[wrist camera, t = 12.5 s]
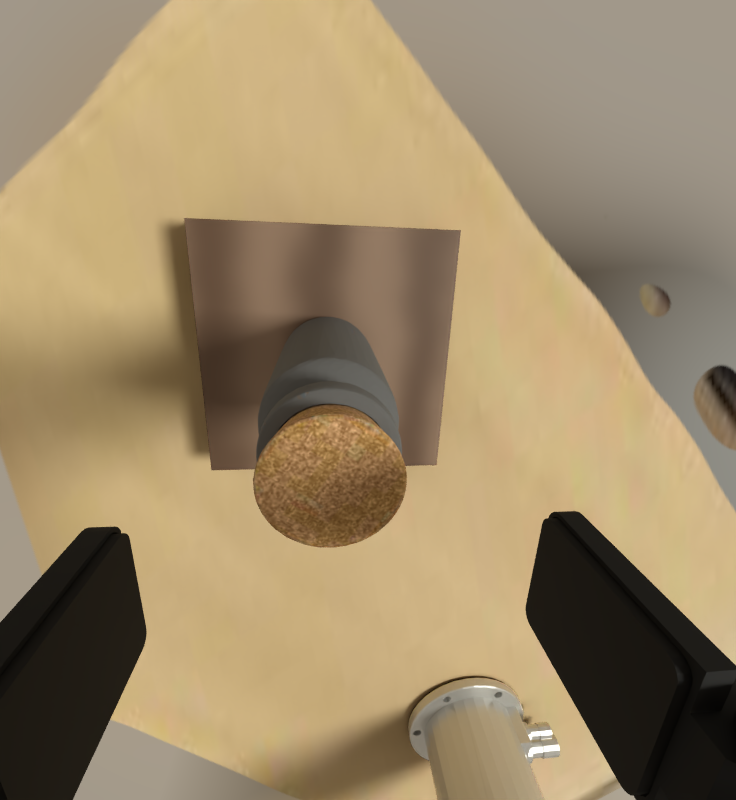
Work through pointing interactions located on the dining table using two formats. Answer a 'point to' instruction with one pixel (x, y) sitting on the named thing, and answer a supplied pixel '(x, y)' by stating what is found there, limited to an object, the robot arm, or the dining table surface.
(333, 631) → the dining table surface
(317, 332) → the bottle
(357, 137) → the dining table surface
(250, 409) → the base
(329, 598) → the dining table surface
